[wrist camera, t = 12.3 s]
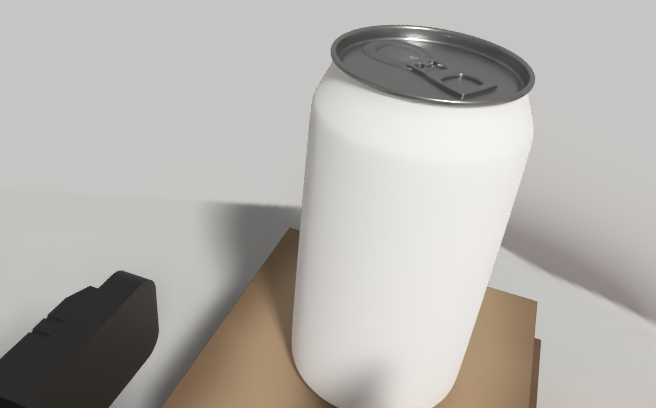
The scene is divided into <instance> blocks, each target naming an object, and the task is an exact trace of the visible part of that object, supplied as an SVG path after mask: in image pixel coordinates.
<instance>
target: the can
mask: <svg viewBox="0 0 656 408" xmlns="http://www.w3.org/2000/svg"><path fill="white" fill-rule="evenodd" d="M331 56H332V60H333V61H332V63H331V65H330V67H329V69H328V70H327V72H326V73H325V75H324V76H323V78H322V80H321V81H320V83H319V85H318V87H317V88H316V90H315V93H314V96H313V100H312V105H311V114H310V123H309V132H308V143H307V155H306V167H305V177H304V188H303V200H302V212H301V223H300V235H299V247H298V260H297V272H296V284H295V297H294V310H293V324H292V355H293V359H294V362H295V365H296V367H297V370H298V371H299V373H300V375H301V377H302V378H303V379H304V381H305V382H306V383H307V385H308V386H309V387H310V388H311V389H312V390H313V391H314V392H315V393H316V394H318V395H319V396H320V397H321V398H323V399H324V400H326V401H327V402H329V403H330V404H332V405H334V406H335V407H337V408H432V407H434V406H435V405H437V404H438V403H439V402H441V401H442V400H443V399H444V398H445V397H446V396H447V394H448V393H449V392H450V390H451V389H452V387H453V385H454V383H455V381H456V378H457V375H458V373H459V370H460V367H461V364H462V361H463V358H464V355H465V352H466V349H467V346H468V343H469V340H470V337H471V334H472V331H473V328H474V325H475V322H476V319H477V316H478V313H479V310H480V307H481V303H482V300H483V297H484V294H485V291H486V288H487V285H488V282H489V279H490V276H491V273H492V269H493V266H494V263H495V260H496V257H497V254H498V251H499V248H500V245H501V241H502V238H503V235H504V232H505V229H506V226H507V223H508V220H509V216H510V213H511V210H512V207H513V204H514V201H515V198H516V194H517V191H518V188H519V185H520V182H521V178H522V175H523V172H524V169H525V165H526V162H527V159H528V155H529V152H530V148H531V144H532V139H533V133H534V130H533V119H532V114H531V110H530V104H529V99H528V93H529V92H530V91H531V89H532V88H533V86H534V83H535V75H534V72H533V70H532V68H531V67H530V66H529V65H528V64H527V63H526V62H525V61H524V60H523V59H522V58H520V57H519V56H517V55H516V54H514V53H513V52H511V51H509V50H507V49H505V48H503V47H501V46H499V45H496V44H494V43H492V42H489V41H486V40H483V39H480V38H477V37H474V36H470V35H466V34H463V33H459V32H454V31H449V30H444V29H438V28H431V27H423V26H411V25H381V26H371V27H365V28H360V29H356V30H353V31H350V32H347V33H345V34H343V35H341V36H340V37H338V38H337V39H336V40H335V41H334V43H333V44H332V47H331Z"/></svg>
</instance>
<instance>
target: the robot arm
mask: <svg viewBox="0 0 656 408" xmlns="http://www.w3.org/2000/svg"><path fill="white" fill-rule="evenodd" d="M158 333H159V326H158V313H157V300H156V288H155V284H154V282H153V281H152V280H149V279H146V278H143V277H140V276H137V275H134V274H131V273H128V272H125V271H117V272H116V273H114V274H113V275H112V276H111V277H110V278H109V279H108V280H107V281H105V282H104V283H103V284H102V285H101V286H100V287H99V288H95V287H92V286H89V287H87V288H85V289H83V290H81V291H79V292H77V293H75V294H73V295H71V296H69V297H67V298H65V299H64V300H63V301H62V302H61V303H60V304H59V305H58V306H57V307H56V308H55V309H54V310H53V311H51V312H50V313H49V314H48V317H47V318H46V319H43V320H42V321H41V322H40V323H39V324H37V325H36V326H35V327H34V328H33V331H32V332H31V333H28V334H27V335H26V336H25V337H23V338H22V339H21V340H20V341H19V342H18V343H17V344H16V345H15V346H14V347H13V348H12V349H11V350H10V351H8V352H7V353H6V354H5V355H4V356H3V357H2V358H1V359H0V408H109V407H110V405H111V404H112V403H113V401H114V400H115V399H116V398H117V396H118V395H119V394H120V393H121V391H122V390H123V389H124V388H125V386H126V385H127V384H128V383H129V381H130V380H131V379H132V378H133V376H134V375H135V374H136V373H137V371H138V370H139V369H140V368H141V366H142V365H143V364H144V363H145V361H146V360H147V359H148V358H149V356H150V355H151V353H152V351H153V349H154V347H155V345H156V342H157V338H158Z"/></svg>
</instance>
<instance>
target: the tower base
mask: <svg viewBox="0 0 656 408" xmlns="http://www.w3.org/2000/svg"><path fill="white" fill-rule="evenodd" d="M299 235H300V231H299V230H296V229H293V228H289V229H288V231H287V232H286V234H285V235H284V236H283V238H282V239H281V241H280V242H279V243H278V245H277V246H276V248H275V249H274V250H273V252H272V253H271V255H270V256H269V257H268V259H267V260H266V262H265V263H264V264H263V266H262V267H261V269H260V270H259V271H258V273H257V274H256V276H255V277H254V278H253V280H252V281H251V283H250V284H249V285H248V287H247V288H246V290H245V291H244V293H243V294H242V295H241V297H240V298H239V300H238V301H237V302H236V304H235V305H234V307H233V308H232V309H231V311H230V312H229V314H228V315H227V316H226V318H225V319H224V321H223V322H222V323H221V325H220V326H219V328H218V329H217V330H216V332H215V333H214V335H213V336H212V337H211V339H210V340H209V342H208V343H207V344H206V346H205V347H204V349H203V350H202V351H201V353H200V354H199V356H198V357H197V358H196V360H195V361H194V363H193V364H192V365H191V367H190V368H189V370H188V371H187V372H186V374H185V375H184V377H183V378H182V379H181V381H180V382H179V384H178V385H177V386H176V388H175V389H174V391H173V392H172V393H171V395H170V396H169V398H168V399H167V400H166V402H165V403H164V405H163V406H162V408H337V407H335V406H334V405H332V404H330V403H329V402H327V401H326V400H324V399H323V398H321V397H320V396H319V395H318V394H316V393H315V392H314V391H313V390H312V389H311V388H310V387H309V386H308V385H307V383H306V382H305V381H304V379H303V378H302V377H301V375H300V373H299V371H298V370H297V367H296V365H295V362H294V359H293V355H292V324H293V310H294V297H295V284H296V272H297V260H298V247H299ZM536 312H537V301H534V300H531V299H527V298H524V297H520V296H517V295H514V294H510V293H507V292H504V291H500V290H497V289H494V288H490V287H487V288H486V291H485V294H484V297H483V300H482V303H481V307H480V310H479V313H478V316H477V319H476V322H475V325H474V328H473V331H472V334H471V337H470V340H469V343H468V346H467V349H466V352H465V355H464V358H463V361H462V364H461V367H460V370H459V373H458V375H457V378H456V381H455V383H454V385H453V387H452V389H451V390H450V392H449V393H448V394H447V396H446V397H445V398H444V399H443V400H442V401H441V402H439V403H438V404H437V405H435V406H434V407H432V408H536V404H537V389H538V375H539V360H540V346H541V340H540V339H536V338H534V336H535V324H536Z"/></svg>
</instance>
